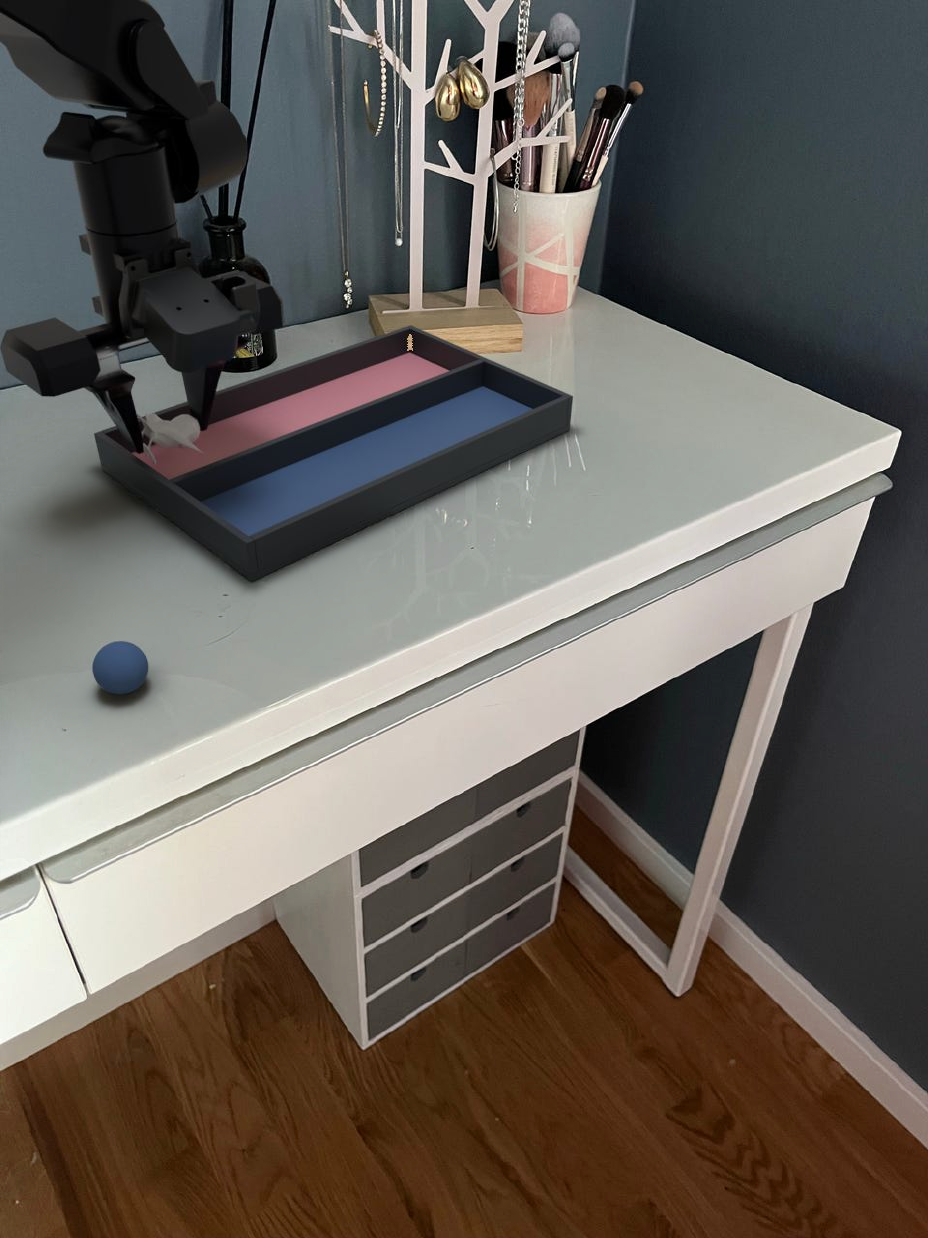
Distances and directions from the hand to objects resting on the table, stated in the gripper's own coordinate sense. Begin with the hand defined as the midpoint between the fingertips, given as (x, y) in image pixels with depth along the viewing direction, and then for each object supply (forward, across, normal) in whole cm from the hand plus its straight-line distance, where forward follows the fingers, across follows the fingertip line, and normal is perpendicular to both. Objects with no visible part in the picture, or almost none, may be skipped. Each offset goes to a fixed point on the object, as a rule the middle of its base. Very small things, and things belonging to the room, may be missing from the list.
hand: (170, 440), depth 73 cm
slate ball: (+2, -15, -18) cm, 24 cm away
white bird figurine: (+1, 0, 0) cm, 1 cm away
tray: (+3, +12, -5) cm, 14 cm away
